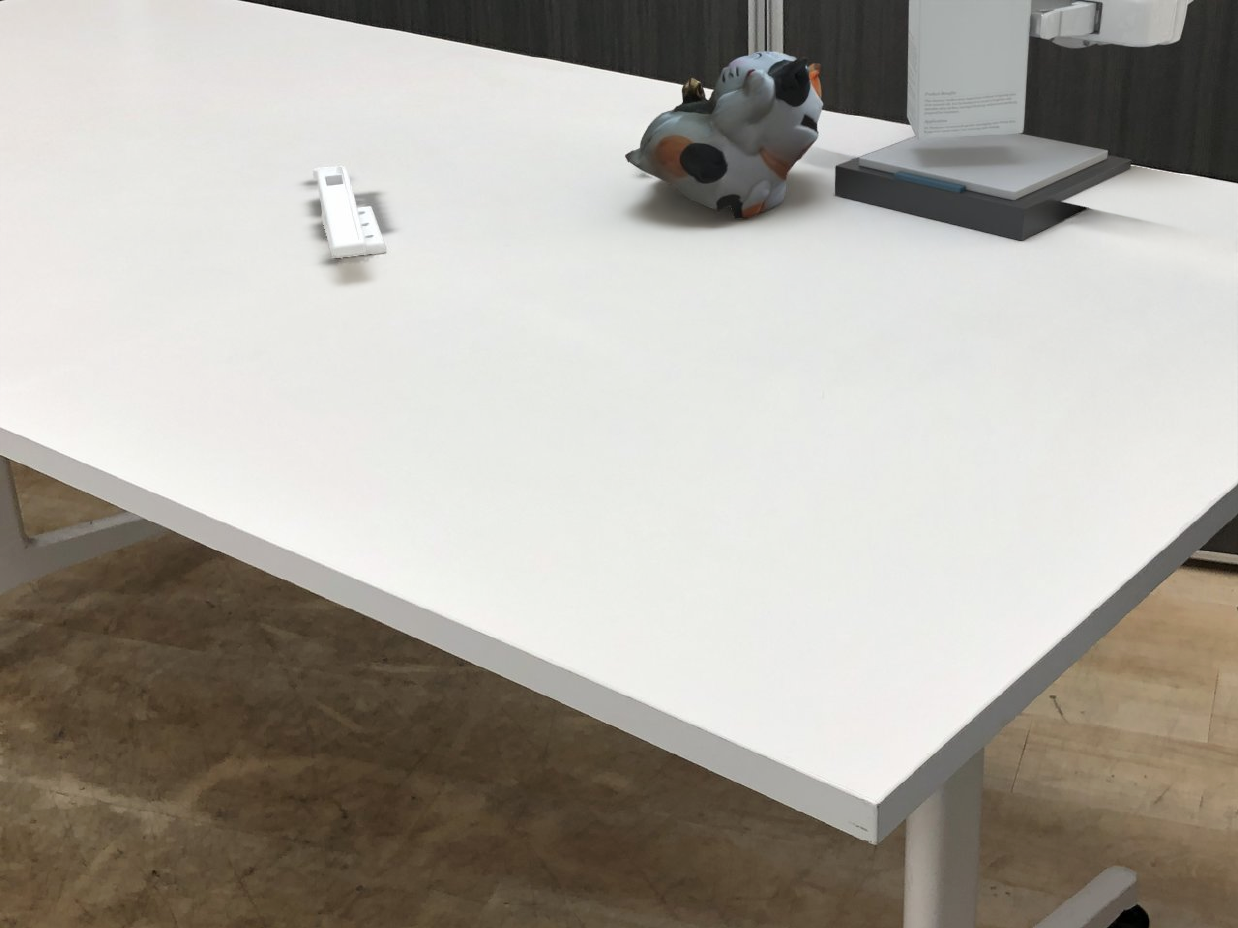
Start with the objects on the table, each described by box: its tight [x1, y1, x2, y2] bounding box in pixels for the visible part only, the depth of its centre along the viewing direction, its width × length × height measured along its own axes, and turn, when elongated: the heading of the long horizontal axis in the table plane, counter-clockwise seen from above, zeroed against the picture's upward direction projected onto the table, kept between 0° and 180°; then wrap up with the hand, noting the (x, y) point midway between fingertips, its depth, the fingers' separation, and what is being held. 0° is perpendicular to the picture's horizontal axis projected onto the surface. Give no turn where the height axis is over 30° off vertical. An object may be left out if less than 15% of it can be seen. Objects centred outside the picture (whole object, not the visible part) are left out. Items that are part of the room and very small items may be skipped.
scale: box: [834, 133, 1132, 242], centre depth 112 cm, size 17×15×3 cm
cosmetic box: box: [906, 0, 1031, 140], centre depth 106 cm, size 8×6×15 cm
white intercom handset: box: [312, 165, 387, 259], centre depth 109 cm, size 4×20×5 cm, turn 15°
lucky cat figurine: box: [624, 50, 824, 220], centre depth 112 cm, size 15×12×14 cm
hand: (986, 19), depth 106 cm, fingers closed on cosmetic box, 7 cm apart
